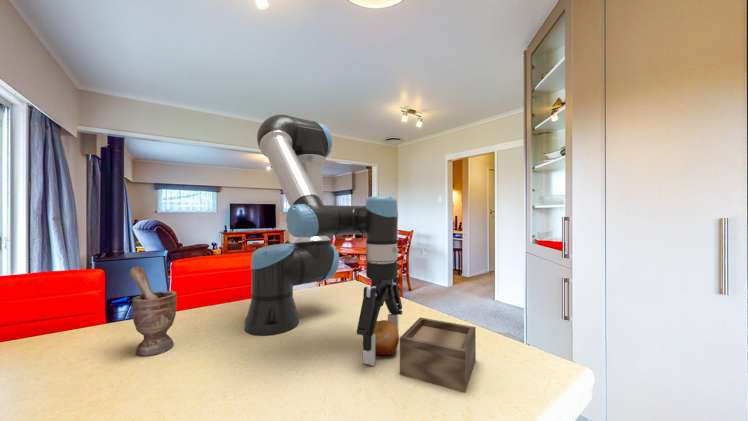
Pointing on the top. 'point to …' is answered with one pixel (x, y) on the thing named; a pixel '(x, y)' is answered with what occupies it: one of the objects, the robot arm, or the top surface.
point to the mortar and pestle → (152, 315)
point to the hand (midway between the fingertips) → (382, 351)
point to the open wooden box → (439, 353)
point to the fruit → (385, 338)
